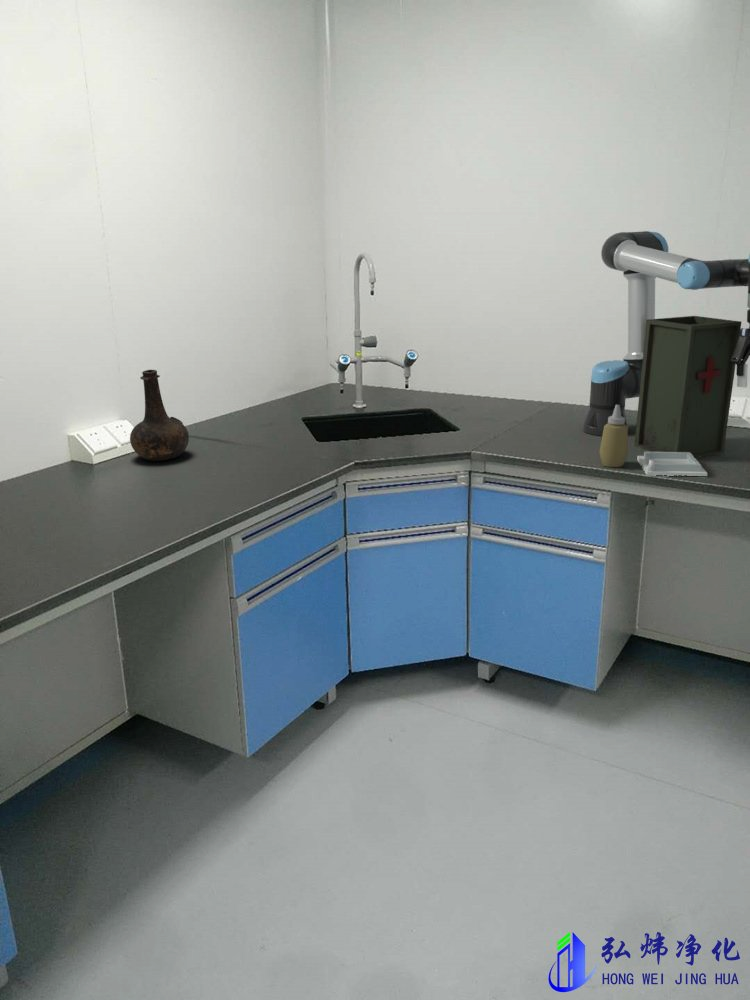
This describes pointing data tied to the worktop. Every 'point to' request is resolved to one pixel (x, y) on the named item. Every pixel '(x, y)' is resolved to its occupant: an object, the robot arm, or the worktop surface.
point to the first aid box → (686, 384)
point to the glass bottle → (157, 426)
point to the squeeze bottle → (614, 440)
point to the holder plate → (670, 464)
